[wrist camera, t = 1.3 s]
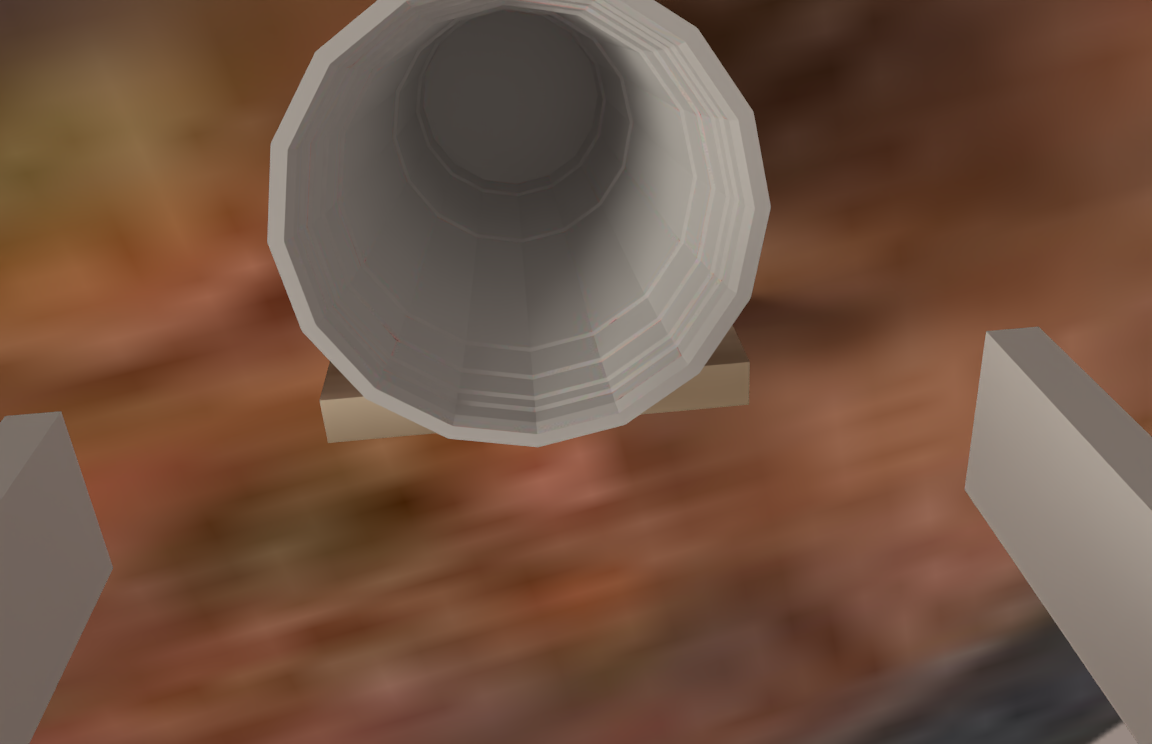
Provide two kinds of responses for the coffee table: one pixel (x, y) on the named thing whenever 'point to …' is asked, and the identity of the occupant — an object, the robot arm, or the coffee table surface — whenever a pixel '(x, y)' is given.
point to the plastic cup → (517, 211)
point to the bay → (367, 420)
